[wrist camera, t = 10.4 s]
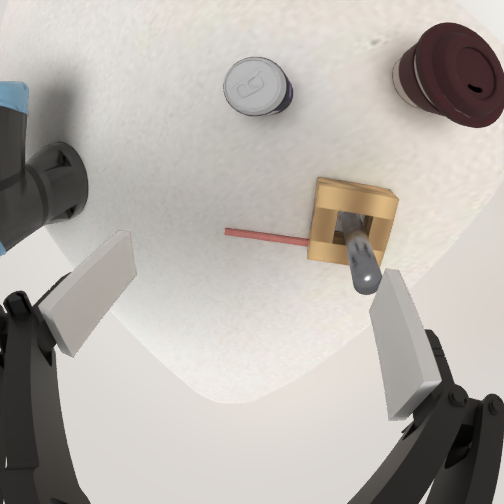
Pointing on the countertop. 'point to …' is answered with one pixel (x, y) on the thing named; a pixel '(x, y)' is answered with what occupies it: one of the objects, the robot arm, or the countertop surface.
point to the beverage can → (257, 87)
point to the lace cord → (266, 237)
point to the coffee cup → (452, 76)
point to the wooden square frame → (355, 201)
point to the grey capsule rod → (360, 254)
